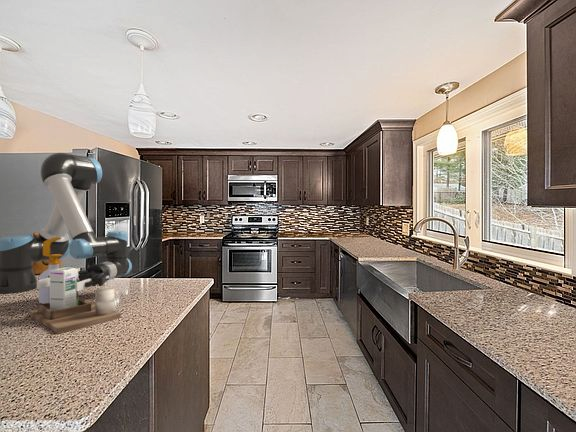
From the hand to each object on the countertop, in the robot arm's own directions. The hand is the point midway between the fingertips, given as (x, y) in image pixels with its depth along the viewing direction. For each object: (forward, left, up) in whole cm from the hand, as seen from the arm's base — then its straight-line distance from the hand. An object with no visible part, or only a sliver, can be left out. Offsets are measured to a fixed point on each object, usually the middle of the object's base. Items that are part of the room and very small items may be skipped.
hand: (56, 286), depth 104 cm
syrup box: (-2, +3, -10) cm, 10 cm away
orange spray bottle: (-83, +23, -11) cm, 86 cm away
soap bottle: (-24, +7, -11) cm, 27 cm away
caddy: (+1, +5, -11) cm, 12 cm away
